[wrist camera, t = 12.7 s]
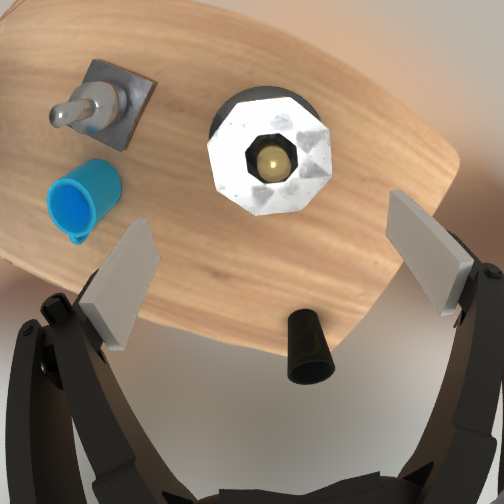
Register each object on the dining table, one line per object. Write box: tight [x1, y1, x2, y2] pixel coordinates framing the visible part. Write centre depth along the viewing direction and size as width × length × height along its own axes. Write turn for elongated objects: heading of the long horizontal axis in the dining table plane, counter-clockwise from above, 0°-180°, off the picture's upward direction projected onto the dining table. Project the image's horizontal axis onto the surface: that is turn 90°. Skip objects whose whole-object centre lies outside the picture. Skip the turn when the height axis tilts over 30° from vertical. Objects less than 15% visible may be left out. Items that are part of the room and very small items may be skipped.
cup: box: [287, 309, 335, 385], centre depth 45 cm, size 8×8×12 cm
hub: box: [209, 86, 322, 182], centre depth 28 cm, size 14×14×12 cm
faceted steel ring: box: [207, 96, 332, 216], centre depth 26 cm, size 11×11×4 cm
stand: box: [49, 59, 157, 152], centre depth 24 cm, size 10×10×12 cm
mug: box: [47, 159, 122, 245], centre depth 33 cm, size 12×8×8 cm
